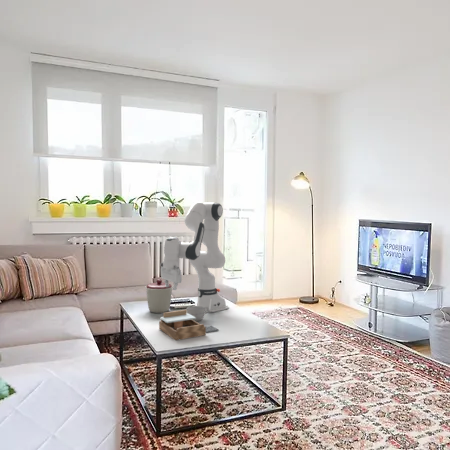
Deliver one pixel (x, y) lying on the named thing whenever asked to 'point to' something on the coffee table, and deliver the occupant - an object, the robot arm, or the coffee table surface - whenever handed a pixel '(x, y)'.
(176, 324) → the pot
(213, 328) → the tile
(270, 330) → the coffee table surface
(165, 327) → the cold frame
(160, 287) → the canister
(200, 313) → the teacup
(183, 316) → the lid
